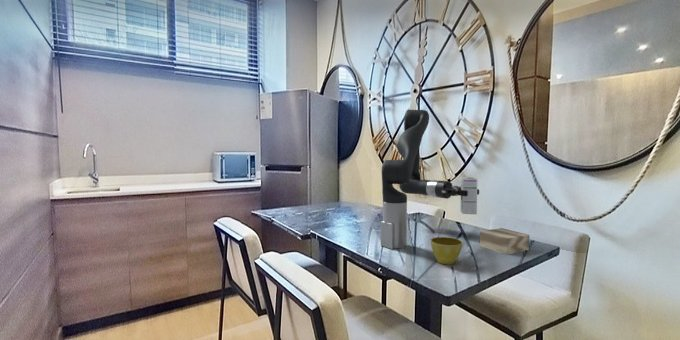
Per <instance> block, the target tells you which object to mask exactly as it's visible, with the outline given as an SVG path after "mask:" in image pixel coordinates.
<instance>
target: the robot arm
mask: <svg viewBox="0 0 680 340" xmlns="http://www.w3.org/2000/svg"><path fill="white" fill-rule="evenodd" d="M403 120H404V121H403V126H404V127H403V130H404V131H403V132H402V133H401V134H400V136H399V137H398V141H397V143H396V148H397V149H396V150H397V152H398V153H399V155H400V157H402V158H403V159H386V160H384V161H383V163H382V165H381V183H382V184H381V186H382V191H381V192H382V221H380V247H384V248H387V249H391V250H393V249H404V248H406V247H407V245H408V244H407V241H408V239H407V237H408V235H407V233H408V232H407V229H408V228H407V225H408V224H407V222H408V213H407V212H408V196H407V194H409V195H410V194H411V195H412V194H414V195H422V196H429V197H434V198H440V199H450V198H451V197H457V196H460V197H461V196H468V191H466V190H461V185H453V184H452V182H451V181H448V180H437V179H433V180H430V179H421V173H420V162H421V155H420V152H419V150H420V146H421V144H422V139H423V137H424V136H423V135H425V132H426V130H427V128H428V125H429V122H430V114H429V111H428V110H426V109H407V110H406V111H405V113H404V119H403ZM393 185H398V186H399V189H400V190H398V189H396V188H395V186H393ZM478 195H480V189H478V188H477V196H478Z"/></svg>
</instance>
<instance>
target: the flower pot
mask: <svg viewBox="0 0 680 340" xmlns="http://www.w3.org/2000/svg"><path fill="white" fill-rule="evenodd" d="M430 246H431V249H432V253H433V254H434V258H435V259H436V261H437V262H438V263H440V264H442V265H454V264H455V262H456V261H457V260H458V258H459V256H460V254H461V251H462V247H463V241H462V240H461V239H458V238H454V237H447V236H438V237H432V238H430Z"/></svg>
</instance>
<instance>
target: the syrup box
mask: <svg viewBox="0 0 680 340" xmlns="http://www.w3.org/2000/svg"><path fill="white" fill-rule="evenodd" d="M460 186H461V190H466V191H468V196H460V212H461V214H463V215H477V214H478V195H477V189H478V178H476V177H469V176H467V177H466V176H464V177H460Z"/></svg>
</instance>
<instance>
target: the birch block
mask: <svg viewBox="0 0 680 340" xmlns="http://www.w3.org/2000/svg"><path fill="white" fill-rule="evenodd" d="M479 247H483V248H485V249H488V250H491V251H495V252H498V253H500V254H504V255H511V254H516V252H517V253H521V252H520V251H522V252H526V251H525V250H527V251H530V234H527V233H525V232H520V231H515V230H511V229H507V228H503V227H501V228H494V229H488V230H487V229H486V230H481V231H479Z"/></svg>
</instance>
